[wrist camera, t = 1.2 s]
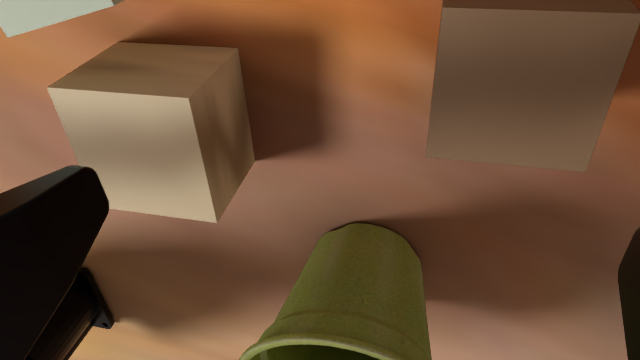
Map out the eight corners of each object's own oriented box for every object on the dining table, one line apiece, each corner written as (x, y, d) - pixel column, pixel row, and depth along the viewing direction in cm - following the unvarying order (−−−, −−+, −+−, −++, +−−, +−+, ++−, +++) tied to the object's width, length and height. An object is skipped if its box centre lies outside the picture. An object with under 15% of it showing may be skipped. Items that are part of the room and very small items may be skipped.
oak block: (255, 159, 24) (217, 222, 21) (151, 148, 26) (96, 206, 22) (239, 46, 21) (188, 98, 17) (119, 40, 22) (46, 87, 18)
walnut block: (559, 100, 19) (585, 172, 15) (432, 91, 20) (425, 157, 16) (598, -33, 16) (643, 13, 12) (446, -35, 17) (442, 7, 13)
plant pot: (479, 224, 23) (487, 386, 17) (426, 332, 29) (416, 484, 23) (298, 176, 24) (236, 312, 18) (282, 290, 30) (231, 425, 23)
